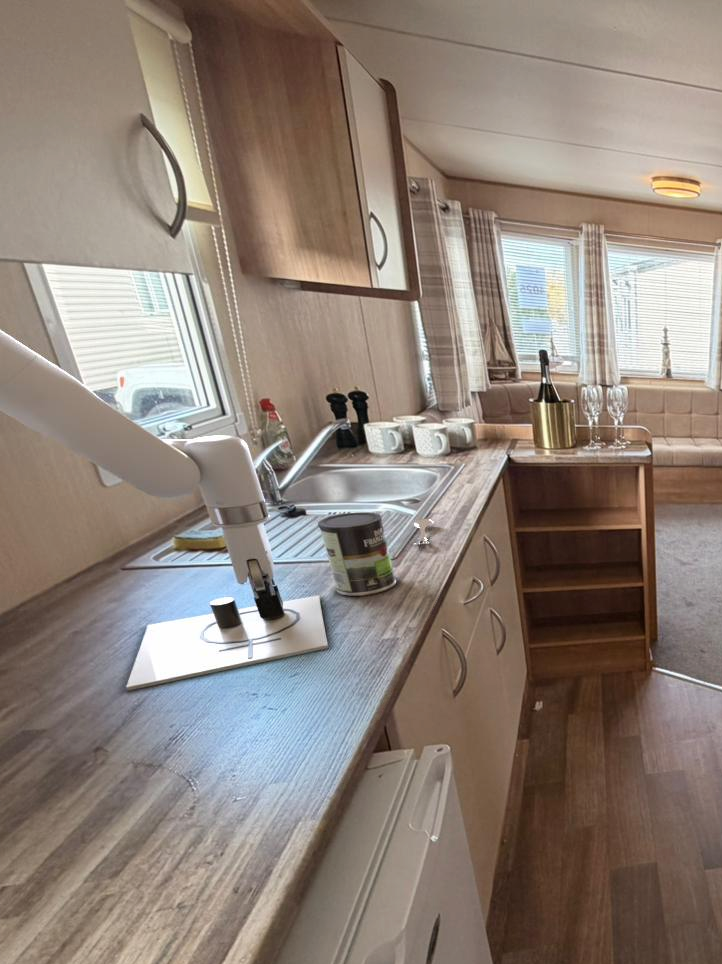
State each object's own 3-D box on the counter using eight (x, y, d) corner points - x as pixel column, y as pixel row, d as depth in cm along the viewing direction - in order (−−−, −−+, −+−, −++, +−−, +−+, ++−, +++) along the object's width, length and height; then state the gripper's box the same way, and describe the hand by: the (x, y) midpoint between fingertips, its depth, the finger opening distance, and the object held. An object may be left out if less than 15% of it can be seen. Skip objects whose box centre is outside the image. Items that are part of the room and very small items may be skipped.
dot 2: (262, 622, 112) (255, 598, 110) (262, 615, 114) (255, 592, 112) (285, 618, 113) (278, 595, 112) (285, 611, 116) (278, 588, 114)
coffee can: (407, 577, 134) (392, 512, 128) (377, 597, 124) (360, 528, 118) (357, 575, 133) (340, 510, 128) (324, 595, 124) (304, 526, 118)
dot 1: (217, 630, 108) (209, 606, 106) (218, 623, 111) (210, 599, 109) (242, 626, 110) (233, 602, 108) (242, 619, 112) (234, 595, 110)
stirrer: (429, 533, 147) (406, 536, 145) (432, 548, 148) (409, 551, 146) (433, 515, 164) (411, 517, 162) (435, 528, 165) (414, 530, 163)
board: (127, 691, 92) (125, 686, 92) (149, 627, 109) (147, 624, 109) (328, 648, 106) (327, 644, 105) (319, 598, 123) (318, 594, 123)
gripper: (212, 503, 109) (246, 600, 117) (206, 529, 98) (244, 635, 105) (267, 498, 114) (297, 591, 121) (267, 522, 102) (300, 624, 110)
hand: (272, 611), depth 113 cm, fingers closed on dot 2, 3 cm apart
